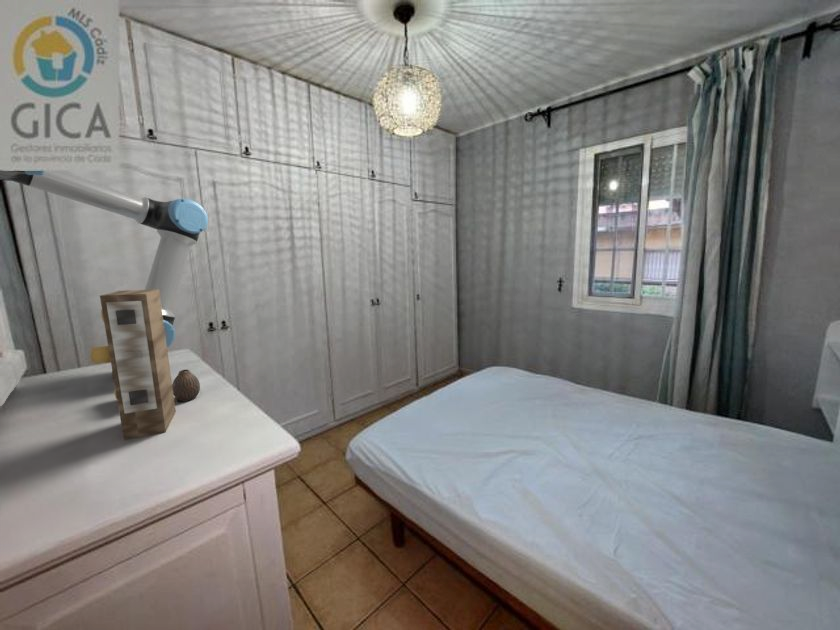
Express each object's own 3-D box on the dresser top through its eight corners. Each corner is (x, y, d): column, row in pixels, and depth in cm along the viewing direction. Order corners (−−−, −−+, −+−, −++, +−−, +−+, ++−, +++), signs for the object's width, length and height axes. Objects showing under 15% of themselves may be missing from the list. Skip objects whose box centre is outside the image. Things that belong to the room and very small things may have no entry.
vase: (187, 404, 97) (183, 375, 95) (167, 402, 98) (163, 373, 97) (206, 394, 104) (203, 367, 102) (187, 392, 105) (184, 366, 104)
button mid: (92, 366, 77) (89, 349, 76) (99, 361, 80) (96, 345, 79) (114, 363, 78) (112, 347, 78) (120, 359, 82) (118, 343, 81)
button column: (122, 441, 77) (98, 296, 72) (139, 417, 89) (119, 290, 83) (165, 433, 81) (145, 294, 75) (175, 411, 92) (159, 289, 86)
